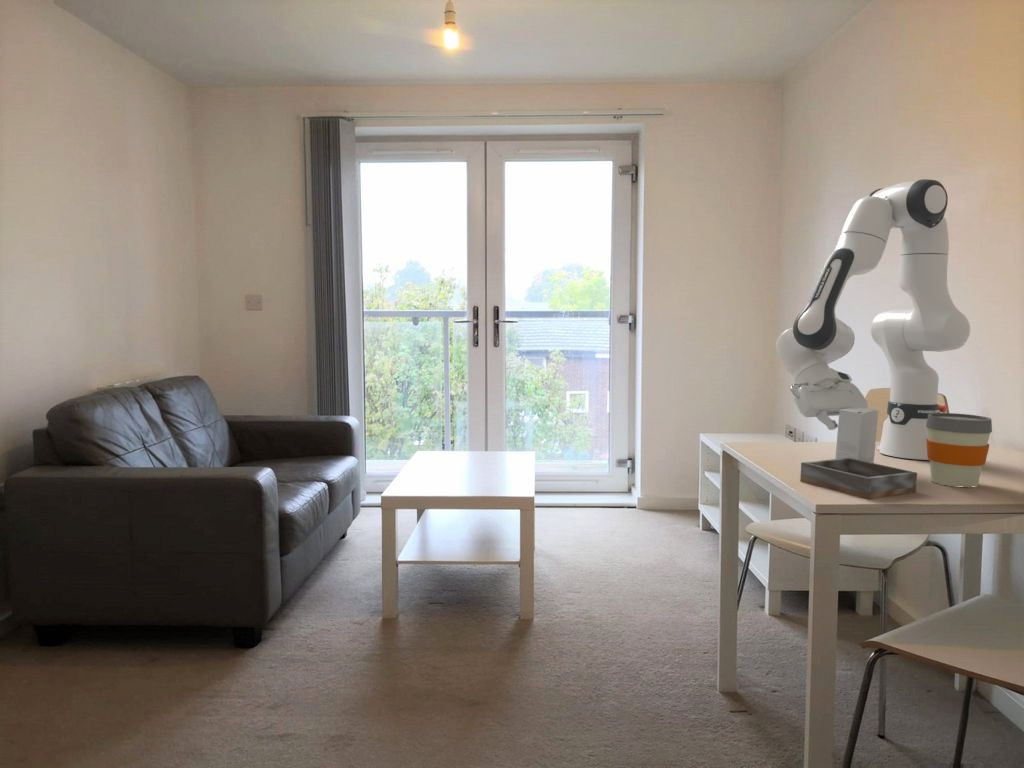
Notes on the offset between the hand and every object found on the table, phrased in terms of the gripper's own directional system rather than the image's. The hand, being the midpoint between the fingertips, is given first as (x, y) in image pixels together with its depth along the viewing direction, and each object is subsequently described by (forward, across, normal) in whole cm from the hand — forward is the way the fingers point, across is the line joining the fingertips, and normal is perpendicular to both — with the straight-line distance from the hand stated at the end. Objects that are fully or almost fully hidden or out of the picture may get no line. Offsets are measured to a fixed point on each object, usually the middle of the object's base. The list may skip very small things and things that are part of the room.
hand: (848, 427), depth 176 cm
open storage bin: (+17, -14, -3) cm, 22 cm away
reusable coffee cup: (+22, +10, -7) cm, 25 cm away
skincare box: (+9, 0, +6) cm, 10 cm away
